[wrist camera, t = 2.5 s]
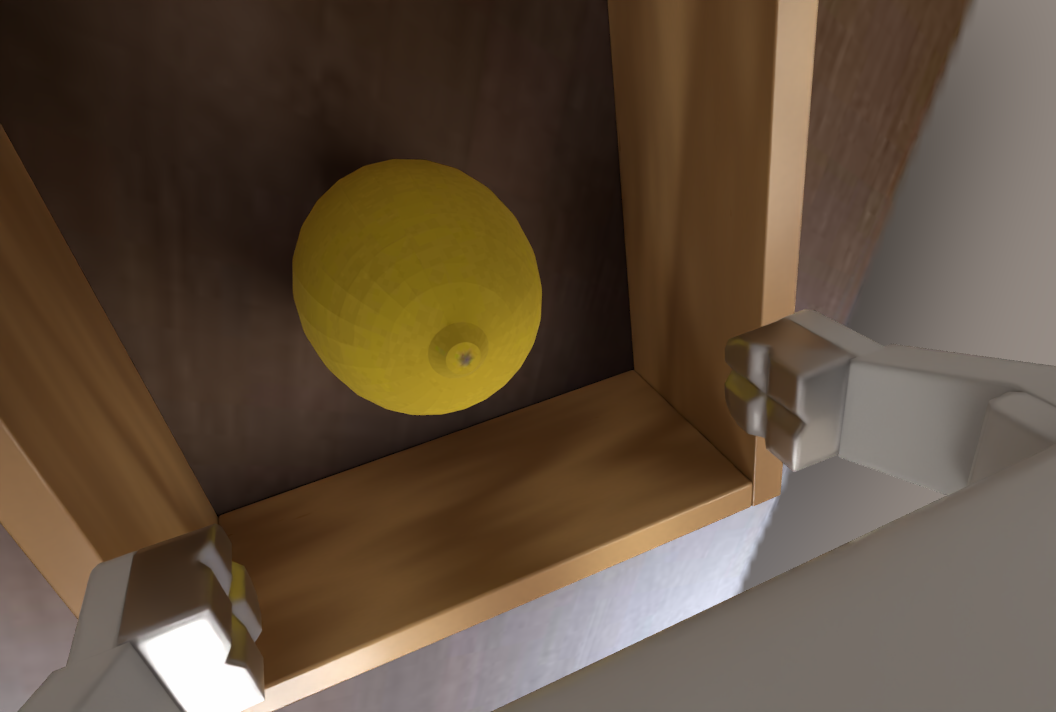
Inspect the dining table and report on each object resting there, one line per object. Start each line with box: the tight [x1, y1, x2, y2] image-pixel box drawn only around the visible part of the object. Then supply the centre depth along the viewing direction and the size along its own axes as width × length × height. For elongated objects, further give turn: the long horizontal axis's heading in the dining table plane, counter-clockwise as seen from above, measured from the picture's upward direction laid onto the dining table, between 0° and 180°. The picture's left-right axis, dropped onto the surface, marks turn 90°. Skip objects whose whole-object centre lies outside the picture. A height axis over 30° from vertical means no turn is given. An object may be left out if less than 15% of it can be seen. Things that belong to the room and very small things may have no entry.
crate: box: [0, 0, 819, 712], centre depth 16 cm, size 17×17×7 cm
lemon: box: [292, 159, 542, 415], centre depth 16 cm, size 6×6×8 cm
